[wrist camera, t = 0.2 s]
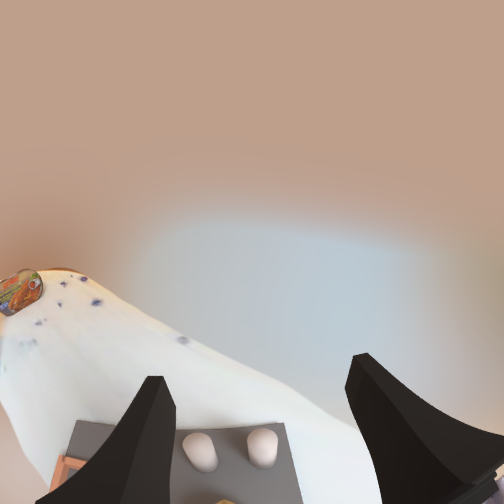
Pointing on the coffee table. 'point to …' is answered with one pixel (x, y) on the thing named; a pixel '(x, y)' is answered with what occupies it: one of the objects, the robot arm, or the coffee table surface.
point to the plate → (215, 463)
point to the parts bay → (64, 470)
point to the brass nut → (225, 502)
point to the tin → (19, 291)
